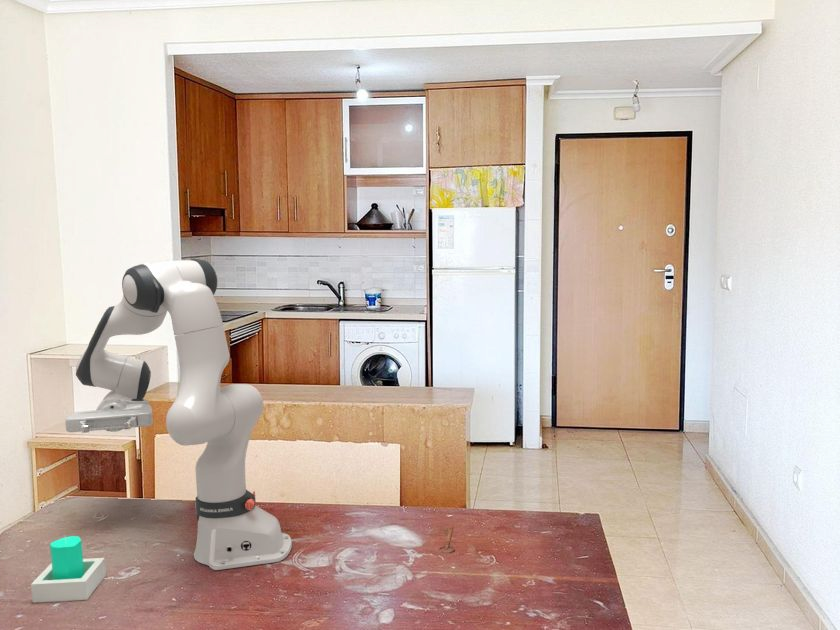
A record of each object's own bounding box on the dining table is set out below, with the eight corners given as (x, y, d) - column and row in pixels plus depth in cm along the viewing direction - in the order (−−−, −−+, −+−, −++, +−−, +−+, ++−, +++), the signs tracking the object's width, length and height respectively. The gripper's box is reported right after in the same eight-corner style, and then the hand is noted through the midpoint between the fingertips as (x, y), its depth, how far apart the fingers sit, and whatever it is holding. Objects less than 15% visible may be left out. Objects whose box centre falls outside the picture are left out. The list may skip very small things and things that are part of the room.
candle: (55, 597, 155) (50, 543, 153) (53, 586, 160) (48, 533, 158) (86, 590, 157) (81, 536, 156) (84, 579, 163) (79, 526, 161)
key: (436, 529, 186) (429, 555, 171) (436, 525, 186) (428, 551, 171) (459, 527, 185) (454, 554, 170) (459, 524, 185) (453, 550, 170)
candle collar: (106, 574, 164) (104, 557, 164) (87, 599, 153) (85, 581, 153) (55, 577, 164) (53, 560, 163) (32, 602, 153) (30, 584, 152)
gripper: (70, 404, 189) (58, 418, 176) (154, 398, 194) (149, 411, 181) (72, 428, 190) (60, 444, 177) (156, 422, 195) (150, 436, 182)
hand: (105, 427), depth 179 cm, fingers open, 8 cm apart
